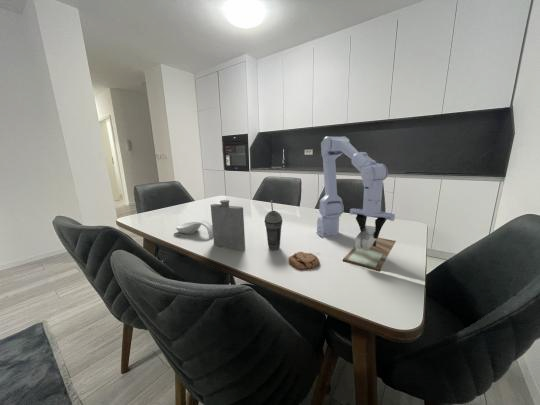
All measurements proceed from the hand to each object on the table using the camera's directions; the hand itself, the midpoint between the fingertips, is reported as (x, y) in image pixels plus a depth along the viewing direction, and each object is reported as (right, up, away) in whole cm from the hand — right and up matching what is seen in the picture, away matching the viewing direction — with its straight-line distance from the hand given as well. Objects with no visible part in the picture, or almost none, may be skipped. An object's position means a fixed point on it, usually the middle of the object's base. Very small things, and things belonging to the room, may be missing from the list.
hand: (369, 236), depth 80 cm
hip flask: (-54, -7, +14) cm, 56 cm away
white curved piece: (-72, -4, +31) cm, 79 cm away
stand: (+3, -7, +5) cm, 9 cm away
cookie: (-24, -9, -2) cm, 26 cm away
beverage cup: (-34, -7, +11) cm, 37 cm away
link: (-2, -2, -2) cm, 3 cm away
